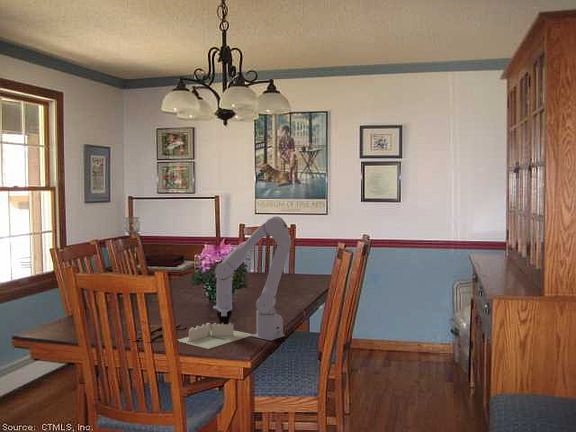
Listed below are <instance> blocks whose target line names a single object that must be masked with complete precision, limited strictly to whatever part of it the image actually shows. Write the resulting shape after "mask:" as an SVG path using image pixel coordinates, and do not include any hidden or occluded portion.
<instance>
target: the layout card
mask: <svg viewBox="0 0 576 432" xmlns="http://www.w3.org/2000/svg"><path fill="white" fill-rule="evenodd" d="M254 334H255V333H254ZM254 334H252V333H248V332H245V331H244V332H243V331H239V330H234V335H228V336H212V329H211V336H207V337H204V338H201V339H197V340H194V341H189V336H187V337H186V336H185V337H182V338H179V339H177V340H178V341H179V342H178V343H181V342H182V343H183V344H185V343H186V345H191V346H192V347H197V348H201V349H204V350H210V349H213V348H217V347H219V346H220V347H221V346H223V345H227V344H230V343H232V342H236V341H238V340H243V339H245V338H248V337H252V335H254Z"/></svg>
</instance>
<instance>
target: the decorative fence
mask: <svg viewBox="0 0 576 432" xmlns="http://www.w3.org/2000/svg"><path fill="white" fill-rule="evenodd" d="M175 324H176V328H177V330H176V331H184V330H186V329H187V328H188V327H187V326H181V324H180V323H175ZM161 325H162V324H152V325H149V328H150V327H151V329H150V330H151V334H152V336H151V337H152V341H153V342H152V343H162V342H164V341H163V338H162V337H163V336H162V331H163V329H162V326H161ZM160 330H162V331H160ZM141 331H142V330H138V331H137V333H138V334H139V333H141ZM137 339H141V334H139V335H137ZM161 341H162V342H161Z"/></svg>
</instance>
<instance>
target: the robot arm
mask: <svg viewBox="0 0 576 432" xmlns="http://www.w3.org/2000/svg"><path fill="white" fill-rule="evenodd" d="M268 236H270V237H271V238H273V241H275V245H277V246H276V249H275V252H274V256H273V259H272V263H271V265H270V268H269V271H268V275H267V277H266V280H265V284H264V286H263V290H262V291H261V294H260V297H259V298H258V299H257V300H256V301H255V308H256V311H255V312H256V315H255V316H256V333H254V335H252V336H251V338H252V337H253V338H256V339H257V338H258V339H262V340H267V341H274V340H277V339H279V338H283V337H285V334H284V321H283V317H282V315H280V314H278V313H277V310H276V308H275V307H274V306H275V305H276V303H277V291H278V287H279V285H280V284H279V283H280V281H281V277H282V275H283V270H284V268H285V265H286V261H287V260H288V259H287V258H288V255H289V252H290V250H291V249H290V248H291V246H292V240H291V236H290V233H289V228H288V225H287V223H286V221H285V220H284V219H283V218H282V217H280V216H272V217H271V218H268V219H267V221H266V222H264V223H262V224H261V225H260V226H259V227H257V229H255V230H254V232H252V234H251V235H250V236H249V237H248V239H247V240H245V242H243V244H242V245H240V246H235V247H234V248H231V249H230V250H229V254H228V255H226V256H225V257H223V258H222V259H221V262H220V263H218V264H217V265H216V267H215V269H214V274H215V276H216V288H215V289H216V293H215V294H216V305H213V306H212V307H213V308H212V309H213V310H216V316H217V317H218V318H217V319H218V321H219V324H221V323H224V324H229V323H230V322H229V321H230V318H231V316H232V314H233V311H232V310H233V281H232V280H233V278H232V276H233V274H234V272H235V270H237V269H238V268H239V267H240V266H241V265H242V264H243V262H245V260H246V259H248V253H249V251H250V250H251V249H252V248H253V247H255V245H256V244H258V242H259V241H260V240H261V239H263V238H265V237H268Z"/></svg>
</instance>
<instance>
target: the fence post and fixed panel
mask: <svg viewBox="0 0 576 432" xmlns="http://www.w3.org/2000/svg"><path fill="white" fill-rule="evenodd" d="M211 330H212V324H211V323H210V322H207V323H205V324H201V326H200V325H196V326H195V328H194V327H190V329H188V337H189V341H194V340H197V339H201V338H204V337H207V336H211Z"/></svg>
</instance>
